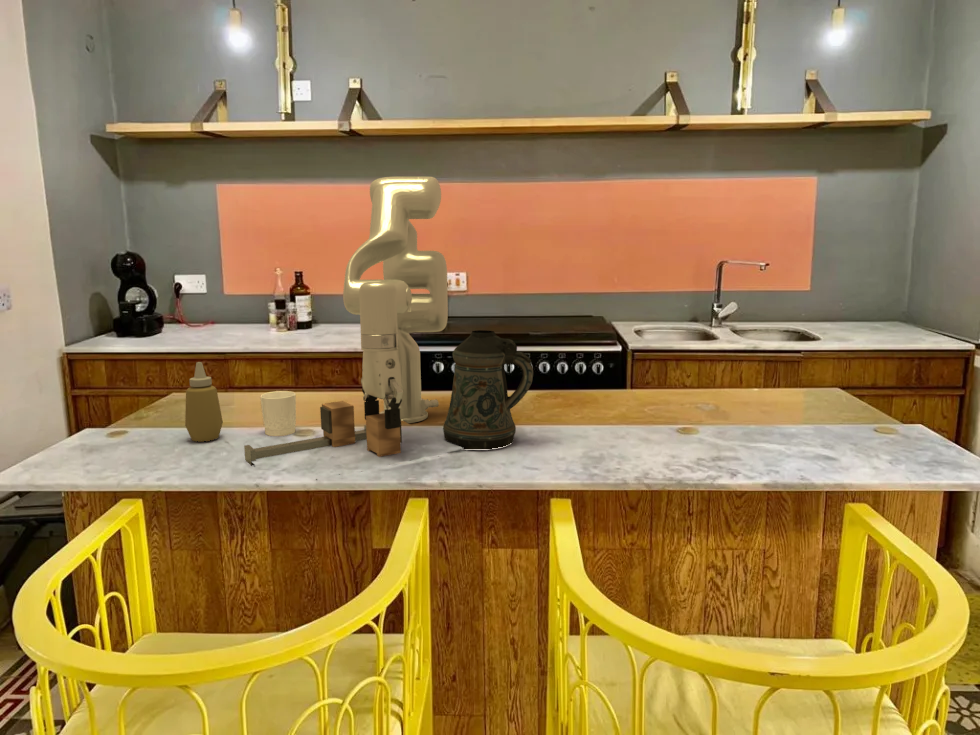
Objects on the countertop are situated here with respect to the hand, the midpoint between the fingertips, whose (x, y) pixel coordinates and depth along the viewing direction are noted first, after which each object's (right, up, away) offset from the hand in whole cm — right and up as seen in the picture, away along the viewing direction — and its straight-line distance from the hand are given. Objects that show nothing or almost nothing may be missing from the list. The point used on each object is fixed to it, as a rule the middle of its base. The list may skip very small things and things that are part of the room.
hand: (382, 423), depth 149 cm
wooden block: (-11, -5, +9) cm, 15 cm away
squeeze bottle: (-43, -5, +16) cm, 46 cm away
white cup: (-26, -5, +18) cm, 32 cm away
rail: (-16, -6, +6) cm, 18 cm away
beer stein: (+22, -5, +13) cm, 26 cm away
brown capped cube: (0, -7, +2) cm, 7 cm away
